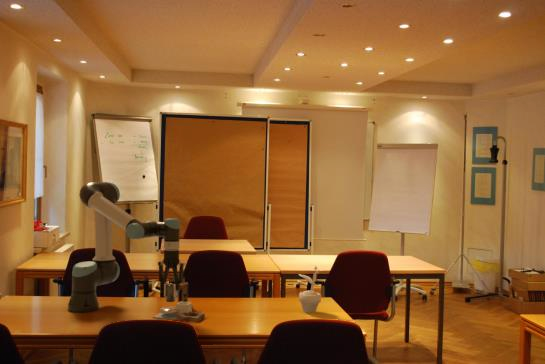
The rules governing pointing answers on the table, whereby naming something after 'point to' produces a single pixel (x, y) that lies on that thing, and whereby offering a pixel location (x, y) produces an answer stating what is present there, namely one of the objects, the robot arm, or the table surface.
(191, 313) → the brown square tray
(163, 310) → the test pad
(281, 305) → the table surface
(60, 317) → the table surface
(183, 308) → the cup
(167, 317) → the base
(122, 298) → the table surface
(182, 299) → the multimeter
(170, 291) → the cell
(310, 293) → the potted plant
